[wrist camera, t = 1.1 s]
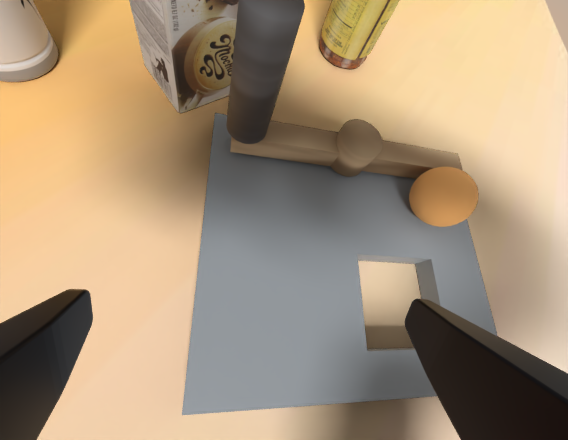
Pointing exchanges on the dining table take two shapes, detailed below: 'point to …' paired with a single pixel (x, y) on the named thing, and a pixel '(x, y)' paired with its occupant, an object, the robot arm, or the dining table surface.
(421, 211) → the ball
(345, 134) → the lever
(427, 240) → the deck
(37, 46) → the travel mug
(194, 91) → the coffee box
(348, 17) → the sauce bottle
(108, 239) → the dining table surface
